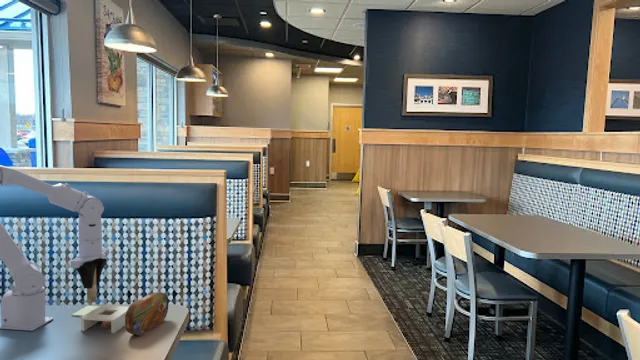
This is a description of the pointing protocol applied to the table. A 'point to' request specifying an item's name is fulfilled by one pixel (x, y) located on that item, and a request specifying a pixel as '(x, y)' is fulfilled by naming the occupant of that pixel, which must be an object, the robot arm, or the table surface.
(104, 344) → the table surface
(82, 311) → the mat
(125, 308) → the box
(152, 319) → the tin
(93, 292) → the wooden block
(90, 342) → the table surface
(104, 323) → the button
